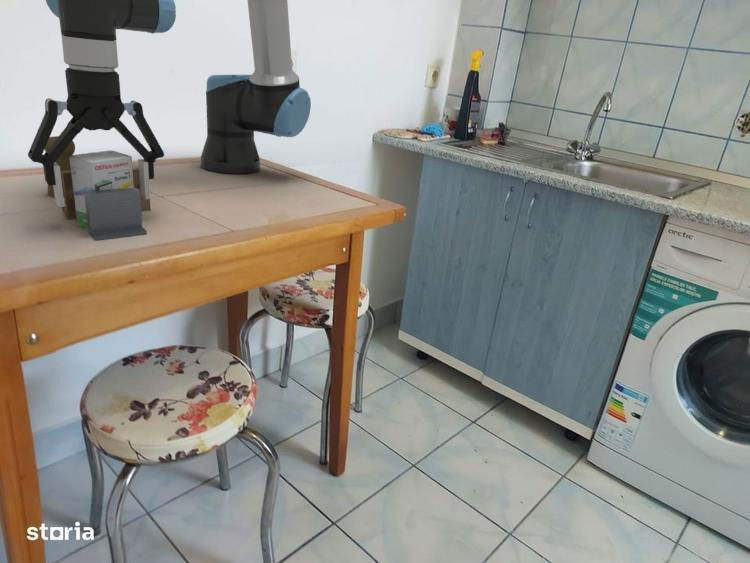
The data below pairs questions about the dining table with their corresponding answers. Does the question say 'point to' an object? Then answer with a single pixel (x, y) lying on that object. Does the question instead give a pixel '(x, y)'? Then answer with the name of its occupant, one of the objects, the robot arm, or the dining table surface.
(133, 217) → the bookend
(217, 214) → the dining table surface
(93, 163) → the ink box
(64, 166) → the cork
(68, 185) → the brown boxy piece
